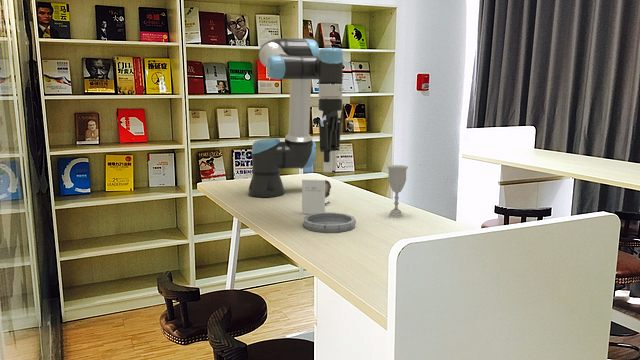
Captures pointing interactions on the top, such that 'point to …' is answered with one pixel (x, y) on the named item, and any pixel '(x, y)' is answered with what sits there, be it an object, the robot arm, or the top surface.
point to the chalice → (396, 185)
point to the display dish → (329, 222)
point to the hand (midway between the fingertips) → (329, 171)
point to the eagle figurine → (327, 190)
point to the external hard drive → (313, 196)
